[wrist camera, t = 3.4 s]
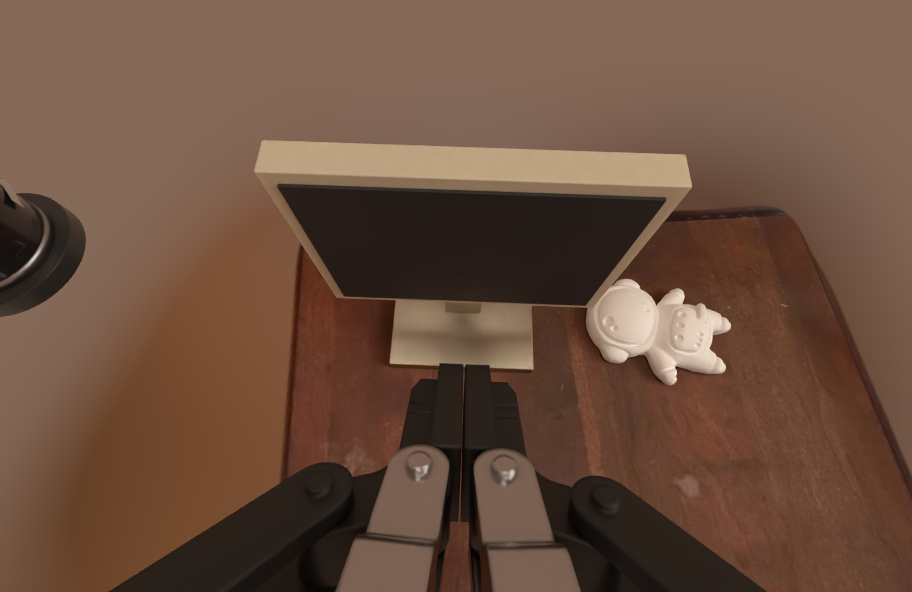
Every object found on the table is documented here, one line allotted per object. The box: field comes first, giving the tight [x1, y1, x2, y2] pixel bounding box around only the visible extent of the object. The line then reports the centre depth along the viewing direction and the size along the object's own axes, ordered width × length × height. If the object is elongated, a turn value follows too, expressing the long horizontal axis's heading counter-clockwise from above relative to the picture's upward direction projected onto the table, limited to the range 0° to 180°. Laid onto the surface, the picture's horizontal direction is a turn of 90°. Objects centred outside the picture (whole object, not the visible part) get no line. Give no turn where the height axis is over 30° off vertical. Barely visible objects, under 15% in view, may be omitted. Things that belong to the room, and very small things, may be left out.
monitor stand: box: [389, 300, 533, 373], centre depth 33 cm, size 9×12×12 cm
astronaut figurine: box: [586, 279, 731, 385], centre depth 37 cm, size 9×12×3 cm
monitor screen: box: [254, 140, 692, 308], centre depth 23 cm, size 2×17×13 cm, turn 88°
